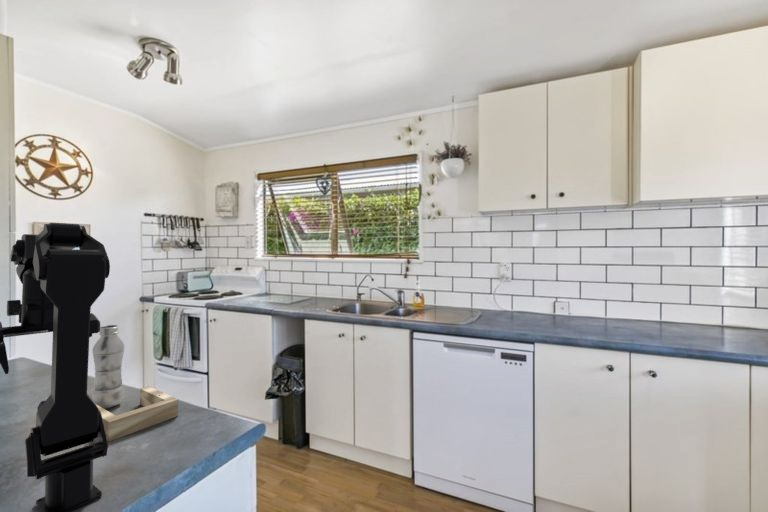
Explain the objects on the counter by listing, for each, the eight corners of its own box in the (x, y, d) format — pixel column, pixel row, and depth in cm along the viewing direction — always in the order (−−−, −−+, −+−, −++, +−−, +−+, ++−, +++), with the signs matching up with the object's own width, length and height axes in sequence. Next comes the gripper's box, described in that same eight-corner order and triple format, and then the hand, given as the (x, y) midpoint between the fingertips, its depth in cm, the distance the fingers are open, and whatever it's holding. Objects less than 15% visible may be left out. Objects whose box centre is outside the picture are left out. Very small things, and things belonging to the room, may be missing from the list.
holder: (178, 415, 86) (178, 399, 86) (109, 441, 74) (109, 422, 74) (148, 401, 94) (148, 386, 93) (81, 422, 82) (81, 405, 82)
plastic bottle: (127, 399, 95) (128, 323, 94) (119, 410, 88) (120, 328, 88) (97, 402, 92) (98, 324, 92) (86, 413, 86) (87, 330, 86)
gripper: (90, 282, 85) (85, 344, 87) (-31, 287, 71) (-32, 361, 73) (103, 296, 78) (98, 363, 81) (-27, 305, 64) (-29, 386, 66)
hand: (38, 367), depth 75 cm, fingers open, 9 cm apart
